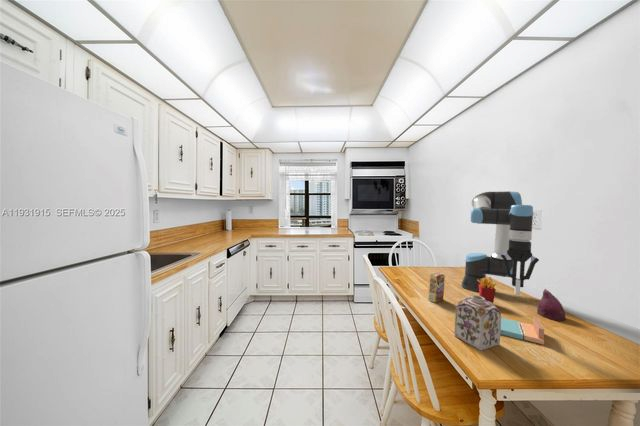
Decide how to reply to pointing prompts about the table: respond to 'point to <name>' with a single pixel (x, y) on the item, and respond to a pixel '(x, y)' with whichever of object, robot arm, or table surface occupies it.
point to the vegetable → (550, 307)
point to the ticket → (511, 328)
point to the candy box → (436, 287)
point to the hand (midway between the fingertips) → (517, 293)
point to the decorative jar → (478, 322)
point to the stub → (533, 331)
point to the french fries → (487, 289)
